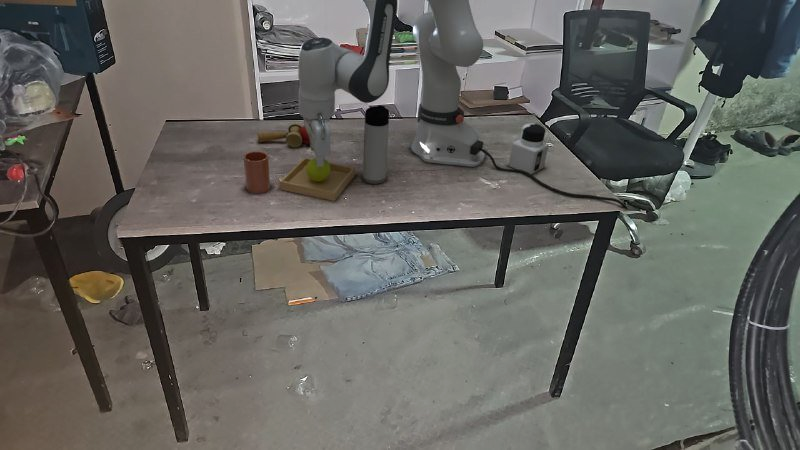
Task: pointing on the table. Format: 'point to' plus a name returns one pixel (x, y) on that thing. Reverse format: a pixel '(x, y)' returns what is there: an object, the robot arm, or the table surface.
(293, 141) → the kendama
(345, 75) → the robot arm
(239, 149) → the table surface
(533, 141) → the container
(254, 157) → the cup
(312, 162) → the tennis ball
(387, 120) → the travel mug
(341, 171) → the tray
